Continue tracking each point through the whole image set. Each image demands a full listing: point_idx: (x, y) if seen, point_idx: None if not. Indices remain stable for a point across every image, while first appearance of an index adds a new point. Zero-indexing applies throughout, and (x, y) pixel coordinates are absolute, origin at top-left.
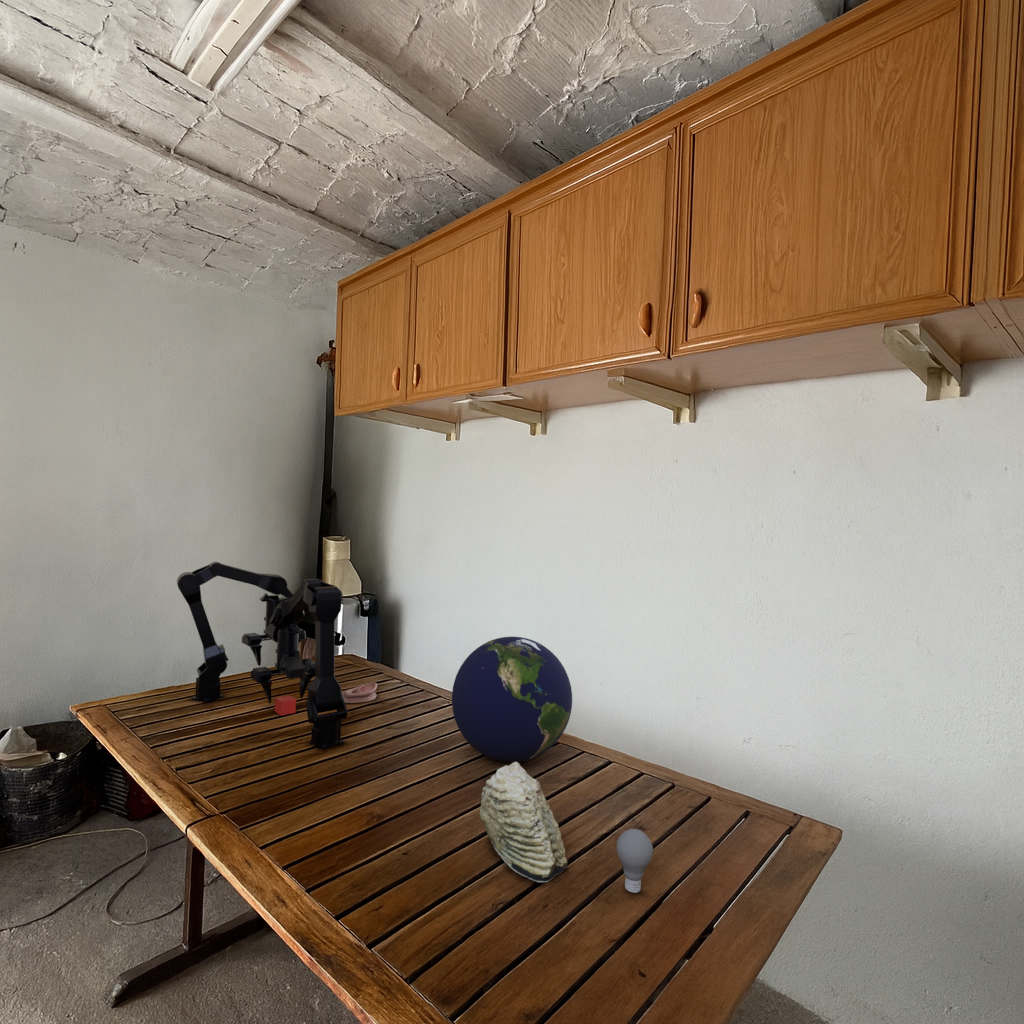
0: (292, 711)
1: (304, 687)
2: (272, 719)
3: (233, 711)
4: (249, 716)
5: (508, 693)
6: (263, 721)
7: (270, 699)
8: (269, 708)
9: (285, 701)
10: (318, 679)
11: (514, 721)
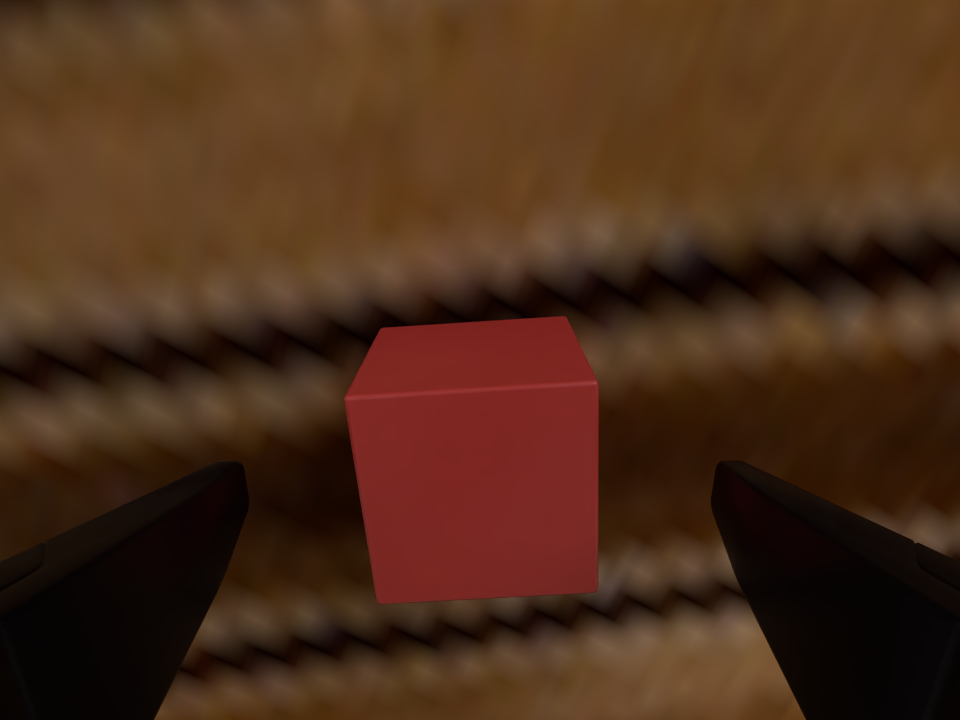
0: (420, 332)
1: (98, 541)
2: (704, 251)
3: None
4: (845, 476)
5: None
6: (821, 240)
7: (763, 483)
8: None
9: (532, 384)
10: None
11: None
